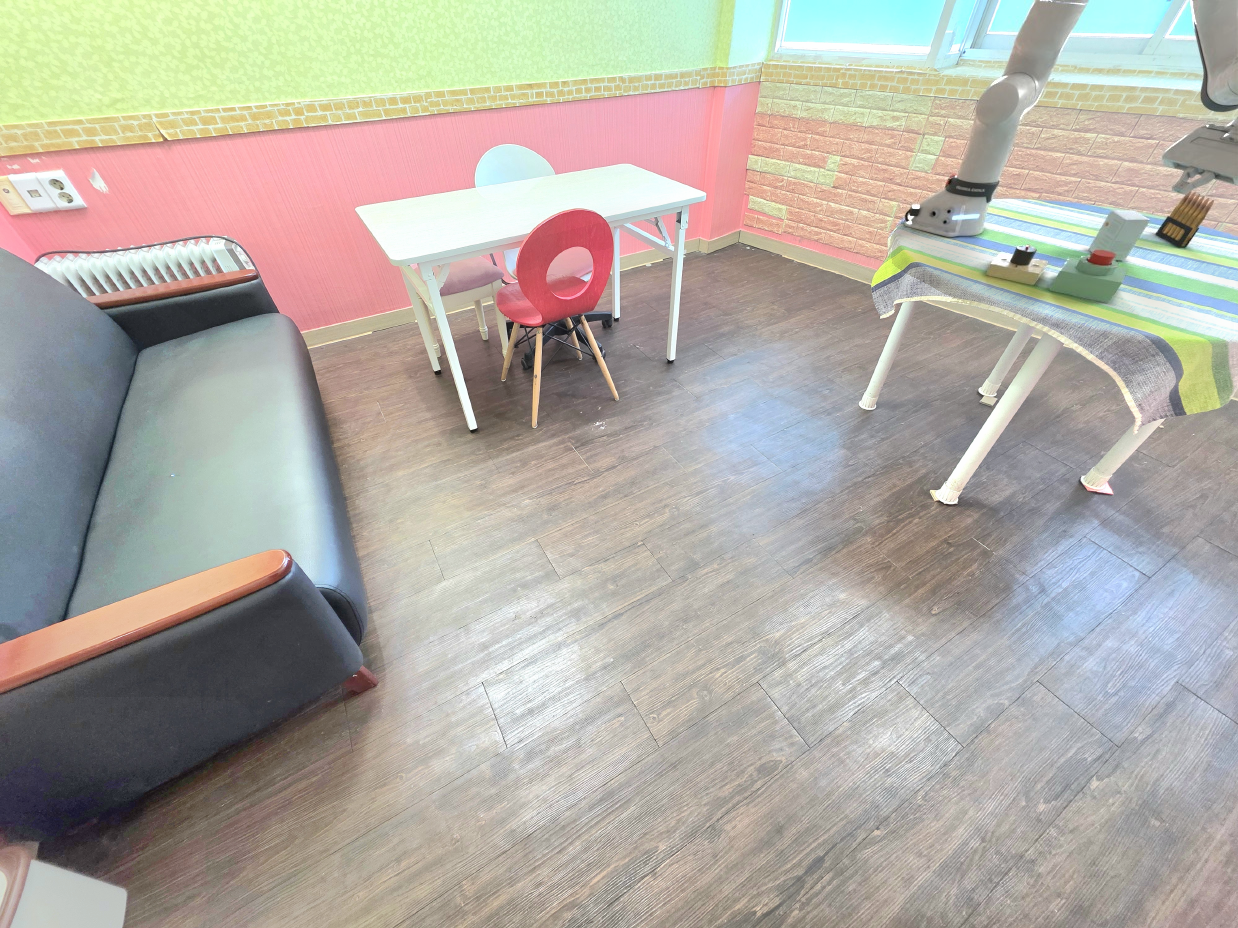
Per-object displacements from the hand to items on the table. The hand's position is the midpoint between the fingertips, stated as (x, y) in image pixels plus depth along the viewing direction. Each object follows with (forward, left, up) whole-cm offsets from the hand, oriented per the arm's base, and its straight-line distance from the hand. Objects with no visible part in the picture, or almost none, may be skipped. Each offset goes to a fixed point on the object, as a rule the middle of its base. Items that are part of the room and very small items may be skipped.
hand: (1178, 191), depth 111 cm
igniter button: (-6, -11, -14) cm, 19 cm away
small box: (-5, +17, -21) cm, 27 cm away
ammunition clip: (+7, +39, -21) cm, 45 cm away
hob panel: (-21, -10, -21) cm, 31 cm away
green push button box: (-6, -11, -21) cm, 24 cm away
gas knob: (-21, -10, -18) cm, 29 cm away
